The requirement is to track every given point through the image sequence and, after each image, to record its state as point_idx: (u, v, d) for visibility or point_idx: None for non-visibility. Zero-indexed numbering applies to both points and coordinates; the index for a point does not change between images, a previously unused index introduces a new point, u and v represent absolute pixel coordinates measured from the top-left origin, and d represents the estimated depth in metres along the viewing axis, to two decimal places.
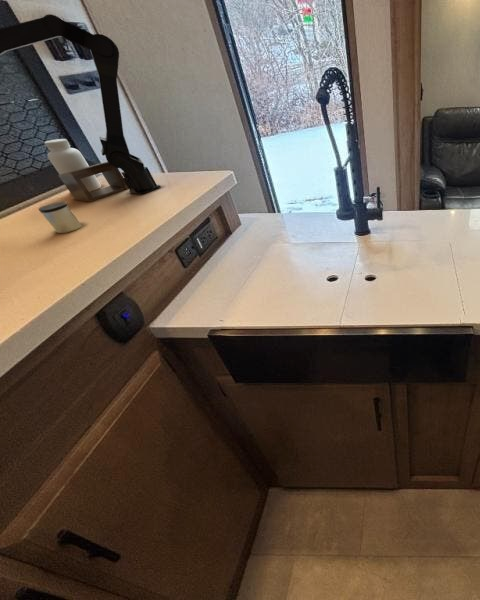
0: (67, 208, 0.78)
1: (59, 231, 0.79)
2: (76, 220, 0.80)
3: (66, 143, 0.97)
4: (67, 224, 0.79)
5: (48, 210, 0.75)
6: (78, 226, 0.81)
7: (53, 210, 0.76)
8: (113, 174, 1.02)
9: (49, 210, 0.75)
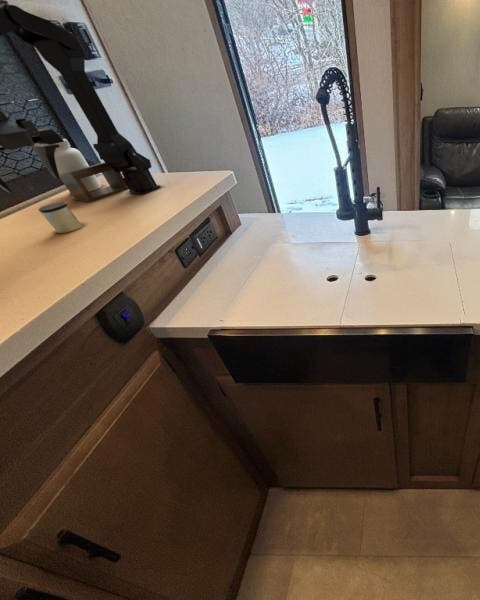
0: (67, 208, 0.78)
1: (59, 231, 0.79)
2: (76, 220, 0.80)
3: (66, 143, 0.97)
4: (67, 224, 0.79)
5: (48, 210, 0.75)
6: (78, 226, 0.81)
7: (53, 210, 0.76)
8: (113, 174, 1.02)
9: (49, 210, 0.75)
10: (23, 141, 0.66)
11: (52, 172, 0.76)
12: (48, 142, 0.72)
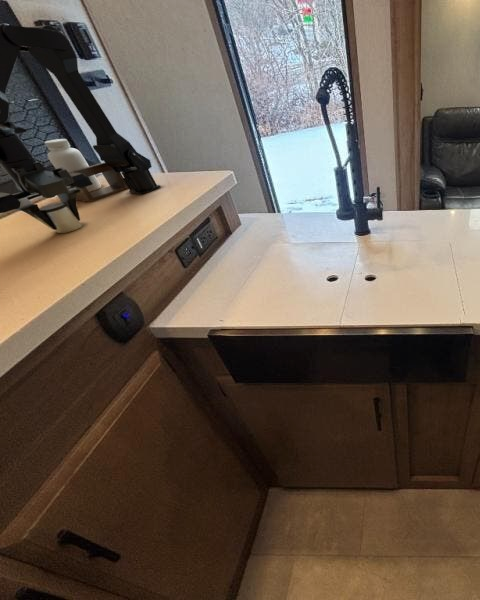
0: (67, 208, 0.78)
1: (59, 231, 0.79)
2: (76, 220, 0.80)
3: (66, 143, 0.97)
4: (67, 224, 0.79)
5: (48, 210, 0.75)
6: (78, 226, 0.81)
7: (53, 210, 0.76)
8: (113, 174, 1.02)
9: (49, 210, 0.75)
10: (59, 189, 0.72)
11: None
12: (79, 186, 0.79)
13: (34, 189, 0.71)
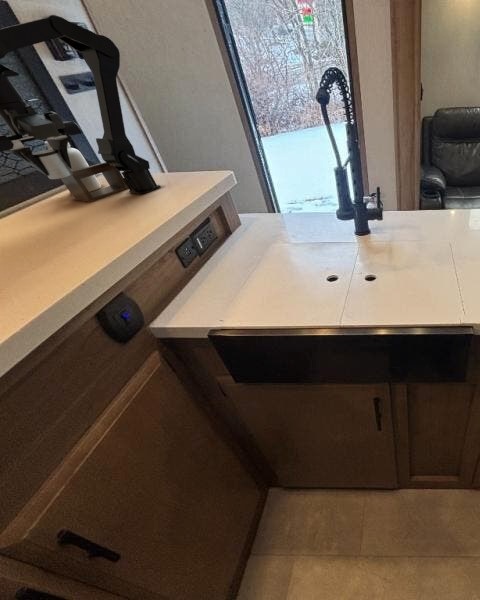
0: (58, 154, 0.81)
1: (51, 177, 0.82)
2: (68, 167, 0.83)
3: None
4: (59, 170, 0.82)
5: (40, 154, 0.78)
6: (70, 173, 0.84)
7: (45, 155, 0.79)
8: (113, 174, 1.02)
9: (41, 155, 0.78)
10: (51, 132, 0.75)
11: None
12: (70, 133, 0.82)
13: (26, 131, 0.73)
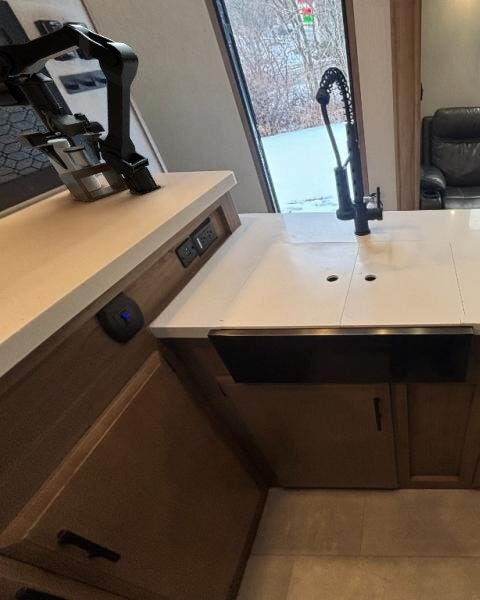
0: (85, 151, 0.95)
1: None
2: (92, 162, 0.97)
3: (66, 143, 0.97)
4: (85, 164, 0.95)
5: (70, 150, 0.92)
6: None
7: (74, 151, 0.92)
8: (113, 174, 1.02)
9: (71, 151, 0.92)
10: (79, 130, 0.88)
11: (96, 155, 0.98)
12: (94, 131, 0.95)
13: (59, 129, 0.87)
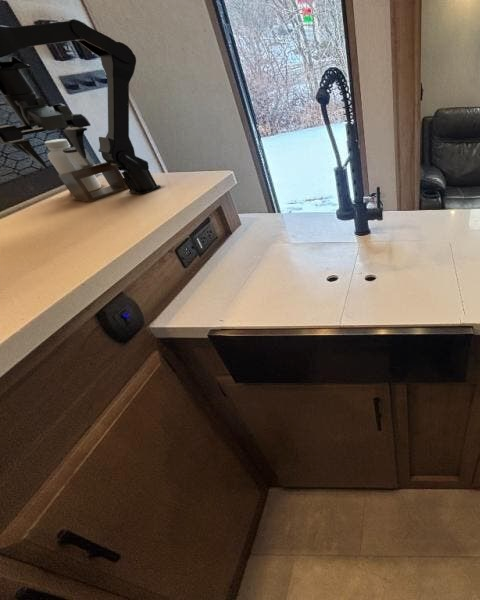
0: (85, 151, 0.95)
1: None
2: (92, 162, 0.97)
3: (66, 143, 0.97)
4: (85, 164, 0.95)
5: (70, 150, 0.92)
6: None
7: (74, 151, 0.92)
8: (113, 174, 1.02)
9: (71, 151, 0.92)
10: (59, 123, 0.77)
11: (80, 152, 0.87)
12: (78, 125, 0.84)
13: (36, 122, 0.75)
